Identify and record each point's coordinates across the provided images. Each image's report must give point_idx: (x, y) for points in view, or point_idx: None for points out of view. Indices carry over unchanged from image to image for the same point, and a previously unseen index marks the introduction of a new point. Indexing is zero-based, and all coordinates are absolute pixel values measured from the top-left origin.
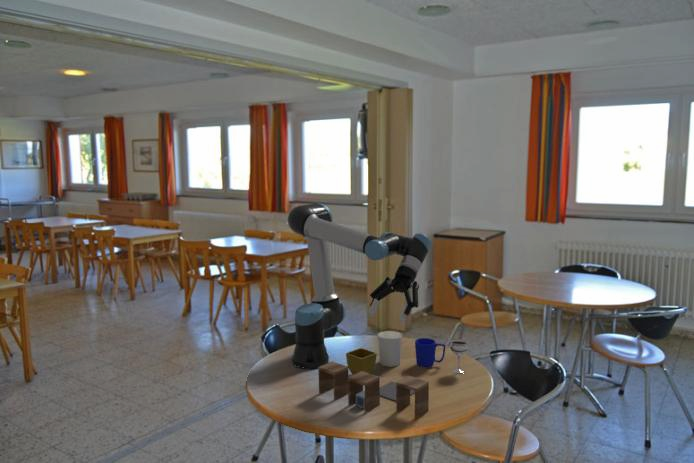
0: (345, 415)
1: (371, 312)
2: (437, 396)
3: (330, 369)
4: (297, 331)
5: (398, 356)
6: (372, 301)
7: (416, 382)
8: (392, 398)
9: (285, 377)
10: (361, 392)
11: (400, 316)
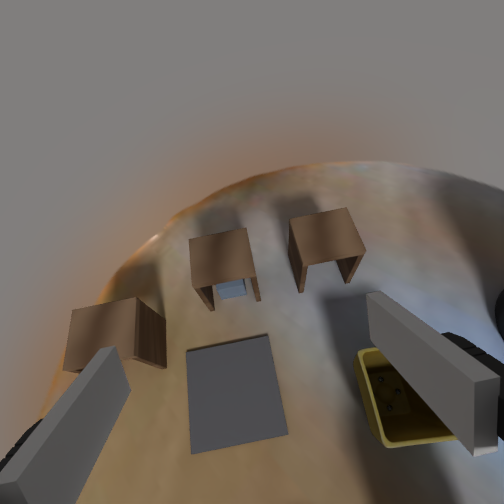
0: None
1: (379, 322)
2: (131, 472)
3: (314, 220)
4: None
5: None
6: (494, 365)
7: (90, 338)
8: (207, 351)
9: (459, 232)
10: None
11: (90, 365)
